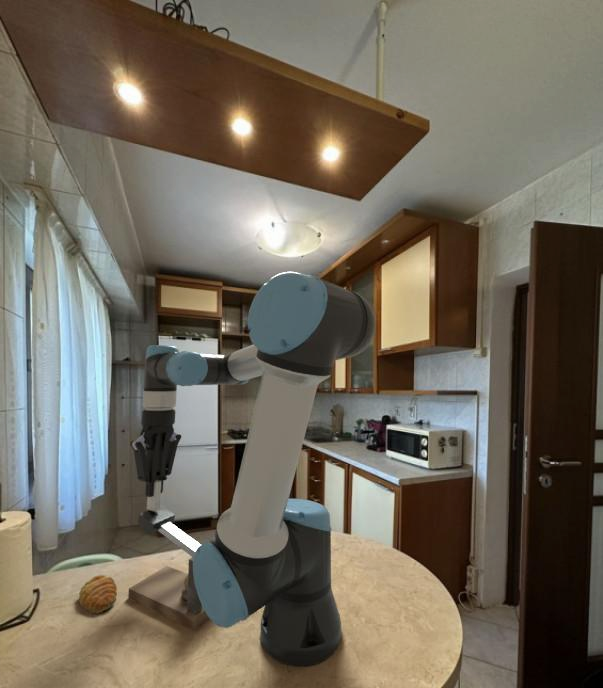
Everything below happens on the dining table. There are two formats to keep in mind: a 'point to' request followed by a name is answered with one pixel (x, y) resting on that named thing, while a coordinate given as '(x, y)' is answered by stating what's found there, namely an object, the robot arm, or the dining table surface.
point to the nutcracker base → (171, 596)
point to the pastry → (98, 594)
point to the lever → (168, 528)
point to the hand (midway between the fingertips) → (153, 509)
